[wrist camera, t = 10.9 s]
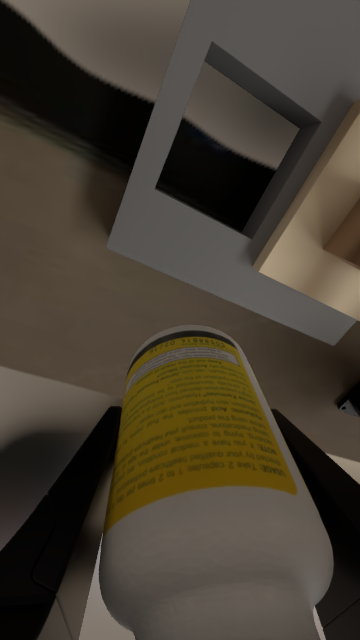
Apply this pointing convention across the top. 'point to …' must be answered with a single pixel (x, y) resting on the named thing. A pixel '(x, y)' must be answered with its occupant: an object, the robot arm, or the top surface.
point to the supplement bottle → (207, 503)
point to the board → (310, 142)
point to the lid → (323, 227)
